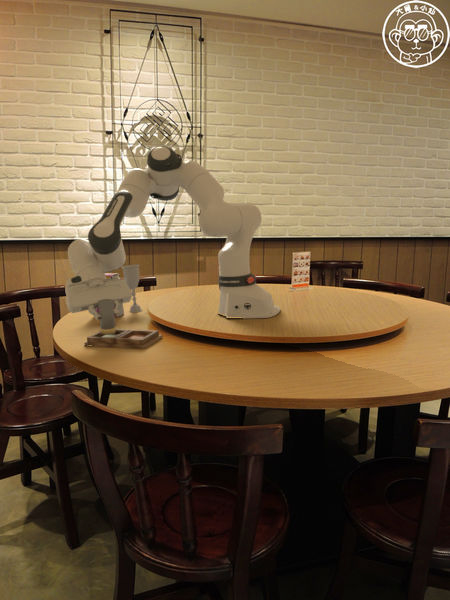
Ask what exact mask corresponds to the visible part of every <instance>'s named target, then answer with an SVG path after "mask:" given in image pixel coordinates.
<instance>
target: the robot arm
mask: <svg viewBox="0 0 450 600" xmlns="http://www.w3.org/2000/svg"><path fill="white" fill-rule="evenodd" d="M146 162H147V163H146V164H147V168H148V169H146V170H144V169H141V168H133V169H130V170H129V171H128V172H127V174H126V175H125V177H124V178H123V180H121V183H120V185H119V187H118V190H117V192H116V193H115V194H113V197H112V198H111V199H110V201H109V203H108V205H107V206H106V208H105V210H104V212H103V214H102V216H101V217H100V219H99V220H98V221H97V222H95V224H93V225H92V226H91V228H90V229H89V231H88V235H87V239H86V238H78V239H77V238H76V239H75V240H73V241H72V242H71V243H70V245H69V246H68V248H67V259H68V261H69V264H70V268H71V270H72V271H73V272H74V274H75V276H73V277H70V278H69V279H67V280H66V283H65V288H64V289H65V290H64V291H65V295H66V296H65V302H66V307H67V310H68V312H69V313H72V314H75V313H81V312H85V311H88V313H89V314H90V315H92V316H93V317H94V319H95V321H97V320H100V319H101V314H100V312H96V311H95V310H94V309H96V308H99V305H98V301H100V300H103V299H111V300H113V307H115V309H114V316H118V315H119V311H118V304H122V303H123V304H126V303H130V302H131V300H132V299H133V296H132V290H131V289H129V287H128V286H127V283H126V281H125V280H124V278H115V279H107V278H106V276H105V274H104V273H111V272H113V271H114V272H115V271H116V270H119V269H120V268H121V267H122V266H125V263H126V261H127V255H126V251H125V247H124V243H123V240H122V234H121V225H122V223H123V221H124V219H125V218H128V219H129V218H131V219H132V218H137V217H140V216H141V215H142V214H143V213H144V211H145V209H146V207H147V204H148V202H149V199H150V197H151V198H152V199H155V200H159V201H164V202H167V201H168V202H169V201H173V200H174V199H176V198H177V196H178V195H179V192H180V188H182V189H183V190H185V192H186V193H187V194H188V196H189V197H190V198H191V199H192V200H193V202H194V203H195V204H196V205H197V207H198V208H199V210H200V214H199V216H198V226H199V229H200V231H201V232H202V233H203V235H205V236H206V237H211V238H223V237H226V239H225V243H224V244H223V247H222V248H221V249H220V250H219V252H218V254H217V259H218V260H217V262H218V273H219V274H218V281H217V282H218V289H219V303H218V305H219V306H218V311H217V313H218V312H219V313H221V314H224V315H225V316H228V317H243V319H267V318H272V317H275V316H277V315H278V314H279V313H280V311H281V308H280V306H279V305H275V304H274V299H273V297H272V294H271V293H270V292H269V291H267V290H265V288H262V287H261V286H260V285H259V284H257V274H255V275H254V274H253V273H251V267H250V251H251V250H250V249H251V244H252V241H253V237H254V235H255V232H257V230H258V228H259V227H260V225H261V223H262V212H261V211H260V209H259V207H258V206H256V205H255V204H252V203H248V202H238V203H237V202H236V203H235V202H234V203H228V202H227V201H225V200H224V197H225V188H224V187H223V186H222V185H221V184H220V182H219V181H218V180H217V179H216V178H215V177H214V176H213V175H212V174H211V173H210V172H209V171H208V170H207V169H206V168H205V167H203V165H201V164H200V163H198V162H197V161H194V160H187V161H183V158H182V155H180V154H179V153H176V151H175V150H174V149H172V148H171V147H168V146H166V145H158V146H154V147H152V148H151V149H150V150H149V151H148V154H147V159H146ZM121 269H122V268H121Z"/></svg>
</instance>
